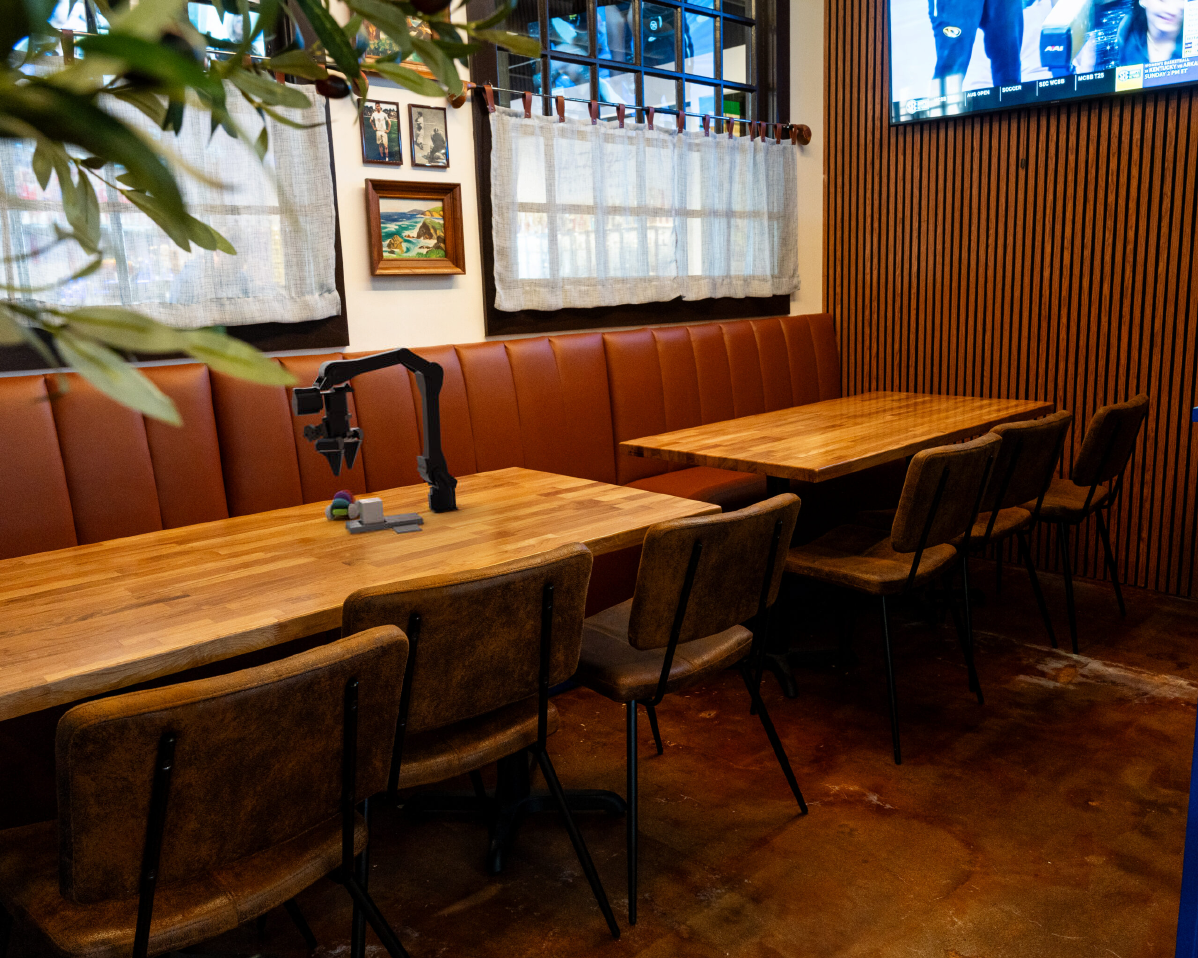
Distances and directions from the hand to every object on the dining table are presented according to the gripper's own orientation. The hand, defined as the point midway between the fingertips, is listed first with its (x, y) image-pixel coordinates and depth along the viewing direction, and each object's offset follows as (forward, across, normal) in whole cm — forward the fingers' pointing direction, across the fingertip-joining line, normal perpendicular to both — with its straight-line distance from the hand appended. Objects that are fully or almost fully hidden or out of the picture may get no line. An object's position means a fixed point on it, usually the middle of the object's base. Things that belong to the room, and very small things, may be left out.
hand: (343, 472), depth 249 cm
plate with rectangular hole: (+14, +2, +10) cm, 17 cm away
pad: (+14, +6, +17) cm, 23 cm away
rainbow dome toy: (+14, -9, -4) cm, 17 cm away
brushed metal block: (+14, +4, +7) cm, 16 cm away
